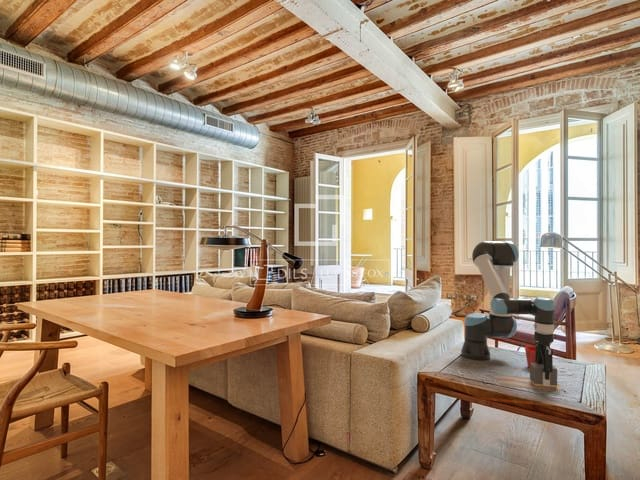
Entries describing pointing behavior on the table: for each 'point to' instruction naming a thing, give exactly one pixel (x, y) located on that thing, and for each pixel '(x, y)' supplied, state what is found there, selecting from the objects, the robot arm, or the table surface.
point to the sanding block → (541, 375)
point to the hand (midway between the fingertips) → (543, 382)
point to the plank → (523, 383)
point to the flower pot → (530, 354)
